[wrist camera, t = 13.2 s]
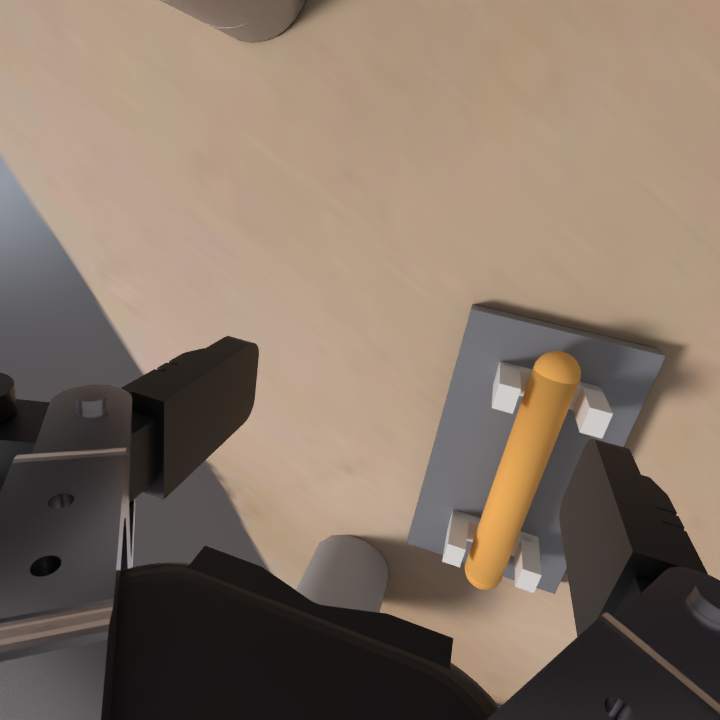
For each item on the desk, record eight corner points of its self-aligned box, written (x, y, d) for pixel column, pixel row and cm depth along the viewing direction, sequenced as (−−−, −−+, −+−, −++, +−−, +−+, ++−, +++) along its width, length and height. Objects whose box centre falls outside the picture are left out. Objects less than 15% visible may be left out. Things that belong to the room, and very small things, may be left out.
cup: (402, 589, 51) (380, 679, 42) (338, 603, 54) (305, 689, 45) (364, 526, 49) (332, 605, 40) (301, 544, 52) (258, 620, 43)
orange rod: (497, 576, 43) (495, 603, 41) (463, 563, 44) (458, 589, 41) (585, 351, 35) (590, 367, 32) (540, 340, 35) (540, 354, 32)
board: (409, 532, 48) (397, 578, 42) (472, 304, 38) (467, 325, 33) (553, 581, 45) (559, 636, 40) (659, 349, 36) (687, 380, 30)
